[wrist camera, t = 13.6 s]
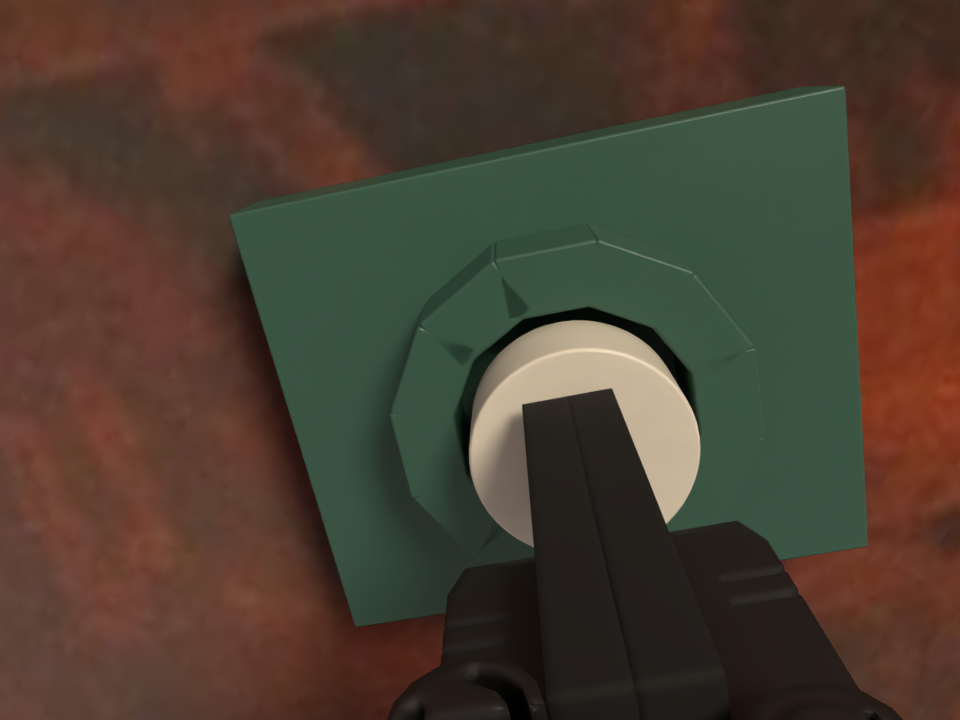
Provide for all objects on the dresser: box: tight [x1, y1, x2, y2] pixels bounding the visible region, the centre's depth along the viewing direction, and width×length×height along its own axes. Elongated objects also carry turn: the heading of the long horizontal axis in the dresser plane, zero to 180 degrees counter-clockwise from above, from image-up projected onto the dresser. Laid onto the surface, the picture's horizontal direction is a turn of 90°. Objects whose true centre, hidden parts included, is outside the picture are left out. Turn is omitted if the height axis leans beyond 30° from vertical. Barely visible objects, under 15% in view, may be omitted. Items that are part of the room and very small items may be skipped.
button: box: [469, 320, 701, 547], centre depth 14 cm, size 4×4×2 cm
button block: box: [229, 86, 868, 627], centre depth 16 cm, size 12×10×4 cm
